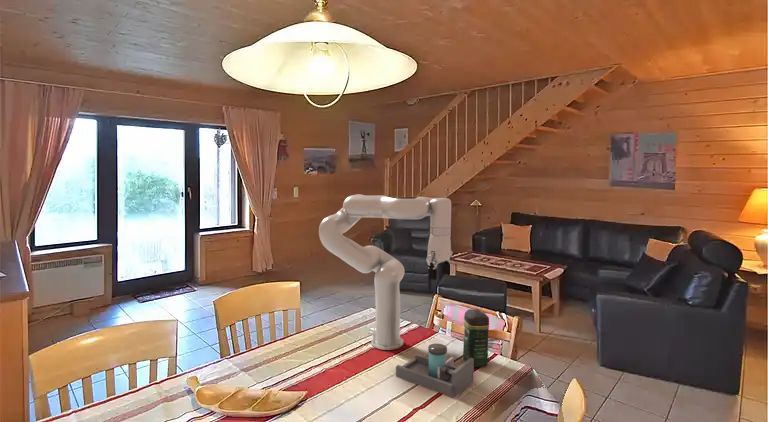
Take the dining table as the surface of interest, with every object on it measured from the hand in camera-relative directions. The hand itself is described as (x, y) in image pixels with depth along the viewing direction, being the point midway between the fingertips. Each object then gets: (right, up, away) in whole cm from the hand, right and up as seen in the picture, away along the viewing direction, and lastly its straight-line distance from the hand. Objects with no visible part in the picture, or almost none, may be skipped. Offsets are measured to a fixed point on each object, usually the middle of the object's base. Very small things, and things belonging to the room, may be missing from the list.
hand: (439, 276), depth 165 cm
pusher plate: (0, -30, -24) cm, 38 cm away
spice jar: (-3, -30, -21) cm, 36 cm away
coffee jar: (+12, -30, -7) cm, 33 cm away
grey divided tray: (-4, -31, -20) cm, 37 cm away
